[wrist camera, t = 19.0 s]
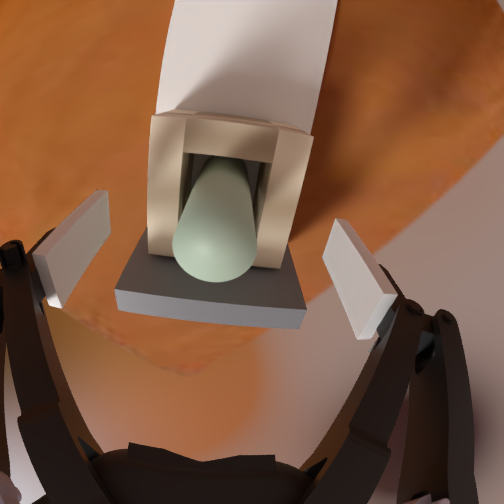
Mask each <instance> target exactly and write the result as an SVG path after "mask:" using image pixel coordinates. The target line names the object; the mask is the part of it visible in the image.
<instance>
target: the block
mask: <svg viewBox="0 0 504 504" xmlns="http://www.w3.org/2000/svg"><path fill="white" fill-rule="evenodd" d="M313 139H314V137H313V136H311V135H309V134H308V133H306V132H305V131H303V130H301V129H300V128H298V127H296V126H294V125H289V124H284V123H279V122H274V121H268V120H262V119H256V118H250V117H243V116H236V115H228V114H220V113H211V112H200V111H188V110H170V111H166V112H163V113H159V114H156V115H153V116H152V117H151V129H150V142H149V159H148V187H147V228H148V254H154V255H163V256H171V257H175V256H174V253H173V247H172V242H173V236H174V233H175V231H176V228H177V226H178V223H179V221H180V218H181V216H182V213H183V211H184V208H185V206H186V203H187V201H188V199H189V196H190V191H191V180H192V170H193V160H194V153H197V154H207V155H216V156H224V157H232V158H239V159H246V160H253V161H260V168H259V173H258V178H257V184H256V189H255V194H254V200H253V205H252V208H253V216H254V224H255V232H256V239H257V254H256V258H255V260H254V262H253V264H252V265H251V266H259V267H269V268H278V269H280V267H281V264H282V260H283V256H284V253H285V249H286V246H287V242H288V238H289V234H290V231H291V227H292V223H293V219H294V216H295V212H296V208H297V204H298V200H299V196H300V192H301V188H302V184H303V180H304V176H305V172H306V168H307V164H308V160H309V156H310V152H311V147H312V143H313Z"/></svg>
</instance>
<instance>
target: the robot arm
mask: <svg viewBox="0 0 504 504" xmlns="http://www.w3.org/2000/svg"><path fill="white" fill-rule="evenodd" d="M110 234H111V227H110V215H109V199H108V191H107V190H96V191H95V192H94V193H93V194H91V195H90V196H89V197H88V198H87V199H86V200H85V201H84V202H83V203H81V204H80V205H79V206H78V207H77V208H76V209H75V210H74V211H73V212H72V213H71V214H70V215H69V216H68V217H67V218H66V219H64V220H63V221H62V222H61V223H60V224H59V225H58V226H57V227H56V228H53V229H51V230H50V231H48V232H47V233H46V234H45V235H44V236H43V237H42V238H41V239H40V240H39V241H38V242H37V244H35V245H34V246H33V247H32V248H31V249H30V251H29V252H28V253H27V254H25V250H24V247H23V243H22V241H20V240H12V241H9V242H7V243H5V244H3V245H2V246H1V247H0V263H1V266H2V269H0V504H20V503H19V502H20V501H21V493H20V491H19V490H18V488H16V487H15V486H14V484H13V482H12V481H11V479H10V461H9V454H8V445H7V437H6V427H5V414H4V364H5V351H6V341H7V348H8V355H9V361H10V367H11V372H12V377H13V381H14V386H15V390H16V394H17V398H18V402H19V405H20V409H21V416H20V417H18V420H17V422H18V427H19V430H20V433H21V436H22V439H23V442H24V445H25V447H26V450H27V453H28V455H29V458H30V460H31V463H32V465H33V467H34V469H35V472H36V474H37V476H38V478H39V480H40V482H41V484H42V486H43V488H44V490H45V492H46V495H44V496H42V497H41V498H40V499H38V500H37V501H35V502H34V503H32V504H367V503H368V501H369V499H370V498H371V496H372V494H373V492H374V490H375V488H376V486H377V484H378V482H379V480H380V478H381V476H382V474H383V472H384V470H385V468H386V465H387V463H388V461H389V458H390V455H391V449H389V448H388V447H387V444H388V441H389V438H390V436H391V434H392V431H393V429H394V426H395V423H396V421H397V418H398V415H399V412H400V409H401V407H402V403H403V401H404V398H405V395H406V391H407V388H408V385H410V386H409V408H408V421H407V431H406V440H405V448H404V455H403V462H402V468H401V473H400V479H399V485H398V491H397V504H479V502H478V495H477V488H476V482H475V477H474V424H473V410H472V400H471V392H470V384H469V377H468V371H467V365H466V360H465V354H464V349H463V345H462V340H461V336H460V332H459V328H458V324H457V321H456V319H455V317H454V316H453V315H452V314H451V313H450V312H449V311H446V310H443V309H440V310H438V311H437V313H436V314H435V315H434V316H430V315H427V314H425V313H424V310H423V308H422V307H421V306H420V305H419V304H418V303H416V302H415V301H413V300H410V299H406V298H405V297H404V295H403V293H402V292H401V290H400V289H399V287H398V286H397V284H395V281H394V280H393V278H392V277H391V275H390V274H389V272H388V271H387V270H386V269H385V268H384V267H383V266H382V265H381V264H378V263H377V262H376V260H375V259H374V257H373V256H372V254H371V253H370V251H369V250H368V249H367V247H366V246H365V244H364V243H363V241H362V240H361V239H360V237H359V236H358V235H357V233H356V232H355V230H354V229H353V228H352V226H351V225H350V224H349V222H348V221H347V220H343V219H338V218H335V221H334V224H333V227H332V230H331V233H330V236H329V239H328V242H327V245H326V248H325V250H324V253H323V256H322V258H323V260H324V263H325V265H326V267H327V269H328V272H329V274H330V276H331V278H332V281H333V283H334V285H335V288H336V290H337V292H338V294H339V297H340V299H341V302H342V304H343V306H344V309H345V311H346V314H347V316H348V318H349V321H350V323H351V326H352V329H353V331H354V334H355V336H356V339H371V337H372V336H373V334H374V333H375V331H376V330H377V332H378V334H379V337H378V339H377V340H376V342H375V343H374V345H373V346H372V348H371V349H370V350H369V352H370V355H369V357H368V360H367V362H366V363H365V365H364V367H363V370H362V371H361V374H360V375H359V377H358V379H357V381H356V383H355V385H354V387H353V389H352V391H351V393H350V394H349V396H348V398H347V400H346V402H345V404H344V405H343V407H342V409H341V410H340V412H339V414H338V415H337V417H336V419H335V421H334V422H333V424H332V425H331V427H330V429H329V430H328V432H327V433H326V435H325V436H324V438H323V440H322V441H321V442H320V444H319V445H318V447H317V448H316V450H315V451H314V453H313V454H312V455H311V456H310V457H309V458H308V459H307V460H306V461H305V463H304V464H303V465H302V466H301V467H300V468H299V469H297V468H295V467H293V466H291V465H288V464H285V463H281V462H277V461H275V455H238V456H233V457H228V458H223V459H217V460H211V461H205V462H201V461H196V460H193V459H190V458H187V457H184V456H182V455H179V454H176V453H173V452H170V451H168V450H165V449H162V448H156V447H150V446H145V445H139V444H135V443H130V442H129V446H128V449H119V450H114V451H110V452H107V453H103V451H102V449H101V448H100V446H99V445H98V443H97V442H96V441H95V439H94V438H93V436H92V435H91V433H90V431H89V429H88V428H87V426H86V424H85V422H84V419H83V417H82V415H81V413H80V411H79V409H78V407H77V405H76V402H75V400H74V398H73V395H72V393H71V391H70V388H69V386H68V383H67V381H66V378H65V375H64V373H63V370H62V367H61V364H60V362H59V359H58V356H57V353H56V350H55V347H54V343H53V340H52V336H51V333H50V329H49V326H48V322H47V318H46V314H45V310H44V306H43V304H42V300H43V298H44V297H45V296H46V298H47V301H48V304H49V305H50V306H54V307H58V308H63V306H64V304H65V303H66V301H67V299H68V298H69V296H70V294H71V292H72V291H73V289H74V288H75V286H76V284H77V283H78V281H79V279H80V278H81V276H82V275H83V273H84V272H85V270H86V269H87V267H88V265H89V264H90V262H91V261H92V259H93V258H94V256H95V255H96V254H97V252H98V251H99V249H100V248H101V246H102V245H103V243H104V242H105V241H106V239H107V238H108V236H109V235H110ZM409 381H410V383H409Z"/></svg>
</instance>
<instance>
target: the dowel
mask: <svg viewBox="0 0 504 504" xmlns="http://www.w3.org/2000/svg"><path fill="white" fill-rule="evenodd" d="M172 247H173V253H174V256H175V258H176V260H177V262H178V264H179V265H180V266H181V267H182V268H183V269H184V270H185V271H186V272H187V273H188V274H190V275H191V276H193V277H195V278H197V279H200V280H203V281H208V282H225V281H229V280H232V279H235V278H237V277H239V276H241V275H242V274H244V273H245V272H246V271H247V270H248V269H249V268H250V267H251V265H252V264H253V262H254V260H255V258H256V254H257V239H256V232H255V224H254V216H253V208H252V201H251V193H250V186H249V178H248V171H247V167H246V164H245V163H244V161H243V160H242V159H239V158H232V157H224V156H216V155H212V156H210V157H209V158H208V159H207V160H206V161H205V163H204V164H203V166H202V169H201V171H200V173H199V175H198V178H197V180H196V182H195V185H194V187H193V189H192V191H191V194H190V196H189V199H188V201H187V203H186V206H185V208H184V211H183V213H182V216H181V218H180V221H179V223H178V226H177V228H176V231H175V233H174V236H173V242H172Z"/></svg>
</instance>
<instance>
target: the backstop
mask: <svg viewBox="0 0 504 504" xmlns="http://www.w3.org/2000/svg"><path fill="white" fill-rule="evenodd" d="M337 1H338V0H175V4H174V8H173V12H172V17H171V21H170V26H169V30H168V35H167V40H166V45H165V51H164V57H163V63H162V69H161V75H160V82H159V90H158V98H157V106H156V114H159V113H163V112H166V111H170V110H188V111H200V112H211V113H220V114H228V115H236V116H243V117H250V118H256V119H262V120H268V121H274V122H279V123H284V124H289V125H294V126H296V127H298V128H300V129H301V130H303V131H305V132H306V133H308V134H309V135H310V133H311V129H312V124H313V120H314V116H315V111H316V107H317V102H318V97H319V93H320V88H321V83H322V79H323V74H324V69H325V64H326V59H327V54H328V49H329V44H330V39H331V34H332V28H333V23H334V17H335V12H336V6H337ZM210 156H212V155H207V154H197V153H194V160H193V170H192V180H191V191H192V189H193V187H194V185H195V182H196V180H197V178H198V175H199V173H200V171H201V169H202V166H203V164H204V163H205V161H206V160H207V159H208V158H209V157H210ZM242 160H243V161H244V163H245V164H246V167H247V171H248V178H249V186H250V193H251V201H252V205H253V200H254V194H255V189H256V184H257V178H258V173H259V168H260V161H253V160H246V159H242ZM191 191H190V194H191ZM114 290H115V295H116V300H117V305H118V310H121V311H126V312H132V313H139V314H145V315H152V316H158V317H166V318H173V319H181V320H189V321H198V322H207V323H216V324H227V325H238V326H251V327H266V328H283V329H299V328H300V325H301V323H302V321H303V318H304V316H305V313H306V311H307V308H306V305H305V301H304V298H303V294H302V291H301V287H300V284H299V280H298V277H297V274H296V270H295V267H294V263H293V260H292V257H291V253H290V250H289V247H288V244H287V246H286V249H285V253H284V256H283V260H282V264H281V267H280V269H278V268H269V267H259V266H251V267H250V268H249V269H248V270H247V271H246V272H245V273H244V274H242V275H241V276H239V277H237V278H235V279H232V280H229V281H225V282H208V281H203V280H200V279H197V278H195V277H193V276H191V275H190V274H188V273H187V272H186V271H185V270H184V269H183V268H182V267H181V266H180V265H179V264H178V262H177V260H176V258H175V257H171V256H163V255H154V254H148V228H146V230H145V231H144V233H143V235H142V237H141V238H140V240H139V242H138V244H137V246H136V248H135V249H134V251H133V253H132V255H131V257H130V259H129V261H128V263H127V265H126V267H125V268H124V270H123V272H122V274H121V276H120V278H119V280H118V282H117V285H116V287H115V289H114Z"/></svg>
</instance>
